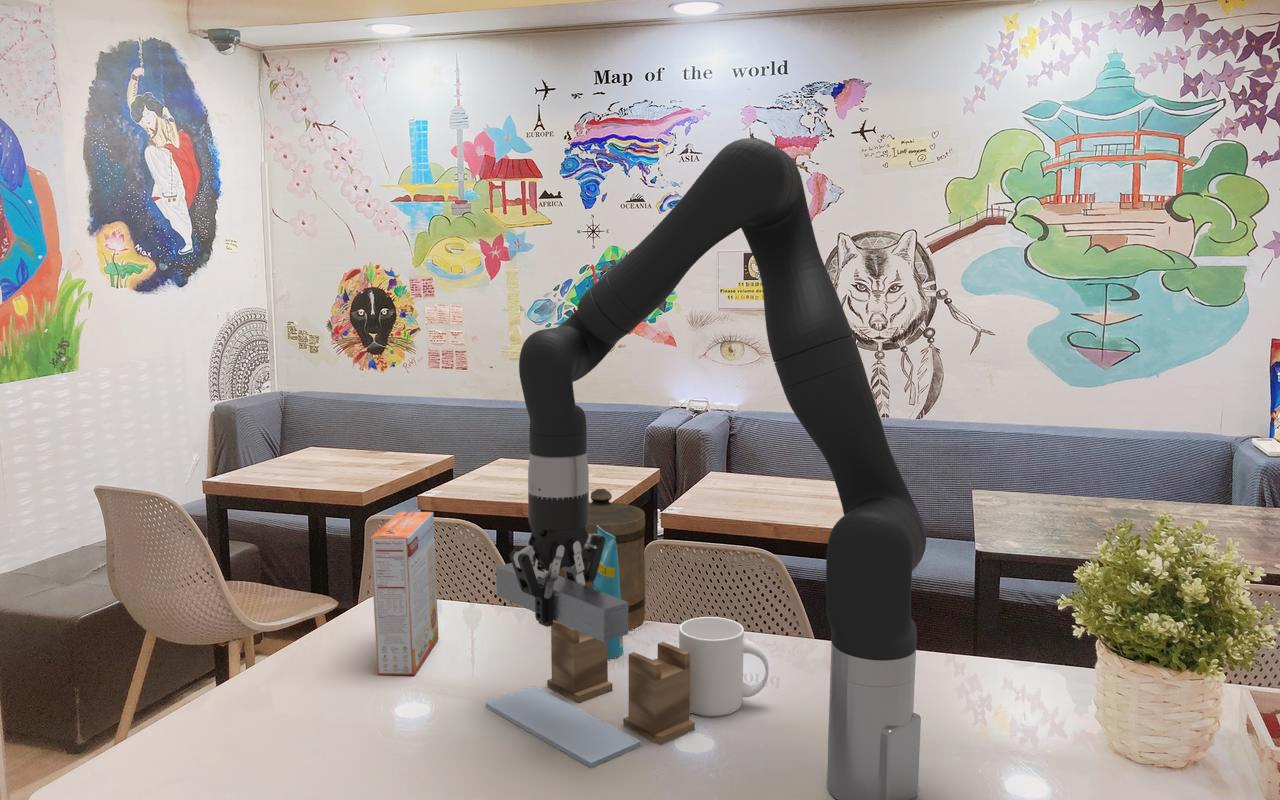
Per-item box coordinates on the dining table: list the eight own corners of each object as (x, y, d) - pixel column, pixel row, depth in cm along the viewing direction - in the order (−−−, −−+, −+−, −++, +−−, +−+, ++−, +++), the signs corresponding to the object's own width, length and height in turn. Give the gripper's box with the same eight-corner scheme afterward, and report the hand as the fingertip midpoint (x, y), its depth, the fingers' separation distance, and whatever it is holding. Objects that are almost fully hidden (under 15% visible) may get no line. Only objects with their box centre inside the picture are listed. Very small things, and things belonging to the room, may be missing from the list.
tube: (582, 647, 156) (581, 526, 154) (610, 642, 159) (610, 522, 156) (603, 664, 150) (603, 538, 147) (632, 658, 152) (633, 534, 149)
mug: (765, 723, 131) (767, 644, 130) (674, 715, 134) (674, 637, 132) (769, 695, 140) (771, 620, 138) (683, 688, 142) (684, 614, 141)
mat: (640, 745, 125) (640, 741, 125) (591, 767, 120) (591, 763, 120) (533, 689, 141) (533, 685, 141) (485, 706, 136) (485, 702, 136)
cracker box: (402, 639, 160) (397, 510, 157) (439, 640, 159) (436, 510, 156) (373, 676, 146) (368, 534, 143) (414, 677, 146) (410, 535, 143)
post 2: (694, 729, 130) (695, 654, 128) (661, 744, 126) (661, 667, 124) (657, 711, 135) (657, 639, 133) (623, 725, 131) (623, 651, 129)
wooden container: (654, 608, 174) (655, 482, 171) (630, 639, 160) (630, 503, 157) (573, 600, 178) (572, 477, 175) (542, 629, 164) (541, 497, 161)
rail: (628, 634, 122) (628, 602, 121) (604, 642, 119) (604, 609, 119) (519, 589, 138) (519, 560, 137) (496, 595, 135) (496, 566, 135)
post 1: (612, 690, 141) (612, 621, 140) (578, 703, 137) (578, 632, 136) (580, 674, 146) (580, 608, 145) (547, 686, 142) (546, 618, 141)
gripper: (530, 503, 119) (532, 643, 121) (621, 484, 128) (621, 615, 131) (493, 491, 124) (495, 626, 127) (583, 474, 134) (583, 600, 136)
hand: (559, 619), depth 129 cm, fingers closed on rail, 3 cm apart
